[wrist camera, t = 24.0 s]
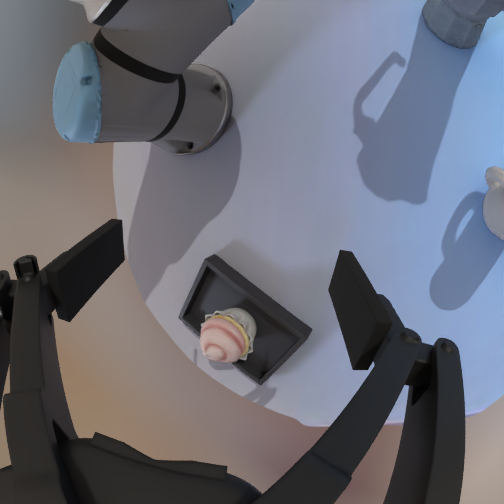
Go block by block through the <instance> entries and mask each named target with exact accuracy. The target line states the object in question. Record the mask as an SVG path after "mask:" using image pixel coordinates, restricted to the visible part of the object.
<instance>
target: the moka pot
mask: <svg viewBox="0 0 504 504" xmlns="http://www.w3.org/2000/svg"><path fill="white" fill-rule="evenodd" d="M501 11H504V0H427V2H426V3H425V5H424V7H423V9H422V13H423V17H424V19H425V22H426V24H427V26H428V27H429V29H430V30H431V31H432V32H433V33H435V34H436V35H437V36H438V37H439V38H440V39H441V40H443V41H445V42H446V43H448V44H450V45H453V46H455V47H458V48H470V47H473V46H475V45H476V44H477V42H478V40H479V37H480V35H481V33H482V30H483V28H484V26H485V23H486V20H487V19H488V18H489V17H494V16H496V15H497V14H498V13H500V12H501Z"/></svg>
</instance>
